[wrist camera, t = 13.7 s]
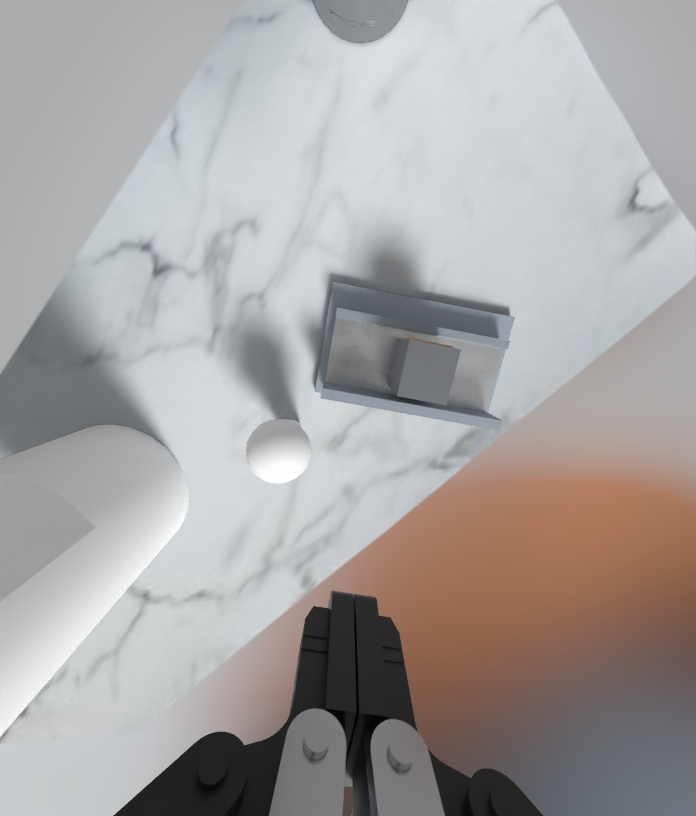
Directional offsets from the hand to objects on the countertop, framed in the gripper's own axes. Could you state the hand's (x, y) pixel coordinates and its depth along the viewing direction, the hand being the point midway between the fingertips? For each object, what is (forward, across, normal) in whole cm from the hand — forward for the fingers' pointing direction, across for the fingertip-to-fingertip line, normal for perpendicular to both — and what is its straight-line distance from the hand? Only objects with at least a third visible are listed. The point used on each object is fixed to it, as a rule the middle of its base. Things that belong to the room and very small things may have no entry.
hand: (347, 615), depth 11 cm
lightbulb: (+29, +6, +3) cm, 30 cm away
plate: (+28, -6, -7) cm, 29 cm away
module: (+26, -6, -7) cm, 28 cm away
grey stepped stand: (+29, -6, -8) cm, 31 cm away
